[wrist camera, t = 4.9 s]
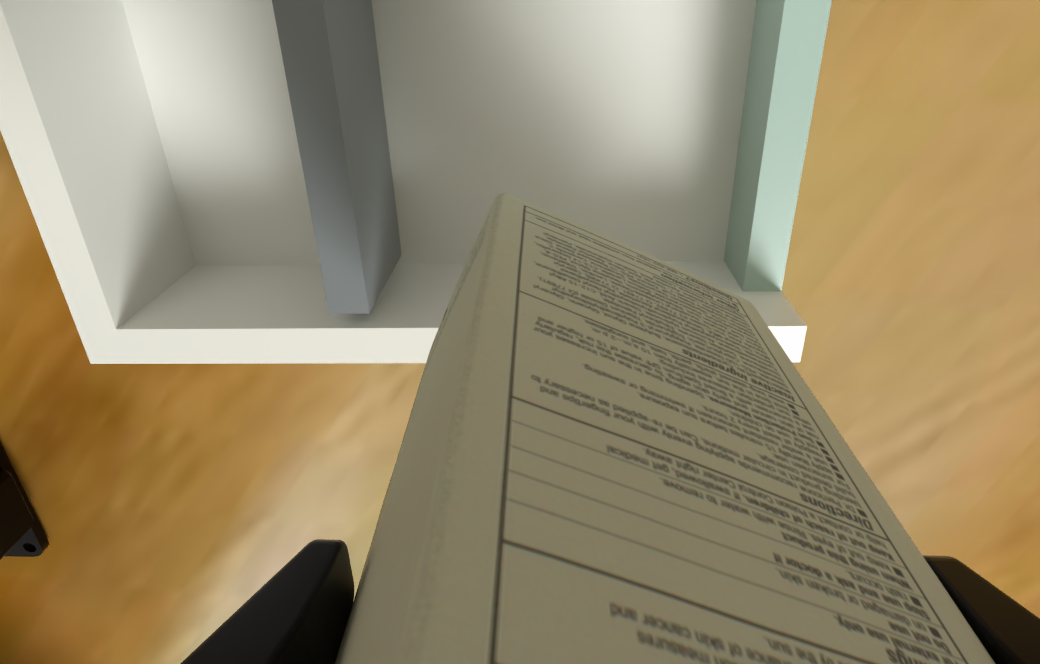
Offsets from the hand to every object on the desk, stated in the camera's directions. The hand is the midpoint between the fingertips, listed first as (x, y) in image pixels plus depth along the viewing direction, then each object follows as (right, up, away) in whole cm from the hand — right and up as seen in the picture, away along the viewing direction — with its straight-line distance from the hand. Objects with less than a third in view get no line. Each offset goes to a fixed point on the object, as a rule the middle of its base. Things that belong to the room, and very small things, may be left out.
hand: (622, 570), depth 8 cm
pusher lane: (-3, +9, +10) cm, 14 cm away
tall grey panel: (-5, +9, +9) cm, 14 cm away
